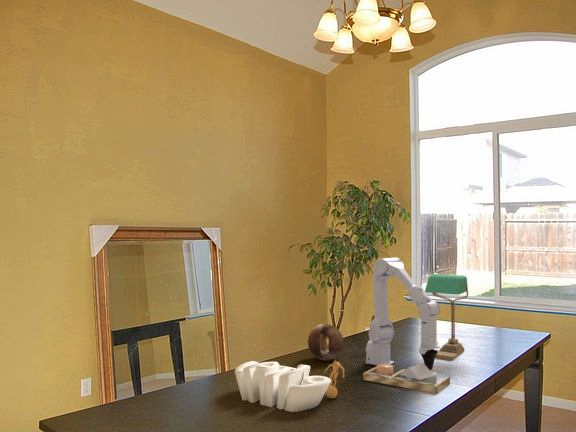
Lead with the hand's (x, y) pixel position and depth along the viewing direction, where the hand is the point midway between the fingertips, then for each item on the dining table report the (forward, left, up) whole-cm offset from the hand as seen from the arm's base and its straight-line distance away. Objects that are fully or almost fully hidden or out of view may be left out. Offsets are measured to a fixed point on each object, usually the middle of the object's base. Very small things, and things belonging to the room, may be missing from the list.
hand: (428, 369), depth 200 cm
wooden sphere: (-45, 0, -3) cm, 45 cm away
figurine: (-18, -40, -3) cm, 44 cm away
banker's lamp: (-5, +38, -3) cm, 38 cm away
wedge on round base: (0, -8, -3) cm, 9 cm away
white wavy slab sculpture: (-32, -52, -3) cm, 61 cm away
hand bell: (-35, +26, -3) cm, 43 cm away
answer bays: (-5, -9, -3) cm, 11 cm away
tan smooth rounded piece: (-13, -10, -3) cm, 17 cm away
